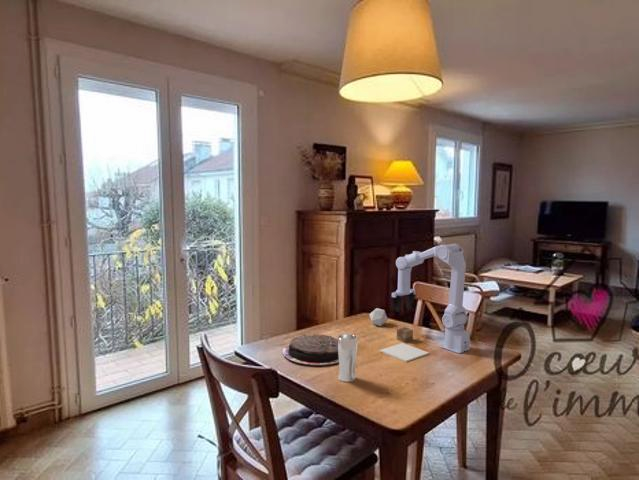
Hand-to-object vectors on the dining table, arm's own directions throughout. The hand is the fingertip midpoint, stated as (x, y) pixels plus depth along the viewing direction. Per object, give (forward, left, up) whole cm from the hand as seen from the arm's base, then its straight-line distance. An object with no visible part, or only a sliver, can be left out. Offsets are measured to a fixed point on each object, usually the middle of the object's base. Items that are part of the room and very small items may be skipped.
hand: (403, 310), depth 198 cm
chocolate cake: (+2, +50, -11) cm, 51 cm away
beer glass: (-23, +56, -10) cm, 61 cm away
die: (+14, +2, -10) cm, 17 cm away
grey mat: (-19, +21, -10) cm, 30 cm away
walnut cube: (-9, +9, -10) cm, 16 cm away
